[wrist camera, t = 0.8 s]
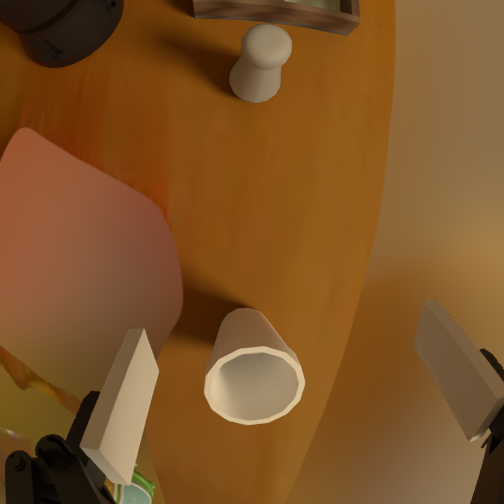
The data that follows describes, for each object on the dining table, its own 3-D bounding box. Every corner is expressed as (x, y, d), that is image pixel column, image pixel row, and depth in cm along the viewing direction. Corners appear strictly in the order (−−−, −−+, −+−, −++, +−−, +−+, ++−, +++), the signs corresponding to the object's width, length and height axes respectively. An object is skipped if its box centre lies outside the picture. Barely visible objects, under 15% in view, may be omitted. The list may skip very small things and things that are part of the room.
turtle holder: (106, 430, 42) (87, 480, 30) (168, 487, 46) (163, 534, 34) (62, 441, 42) (41, 485, 30) (122, 495, 46) (113, 537, 35)
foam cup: (212, 362, 41) (210, 427, 28) (203, 299, 39) (196, 351, 26) (282, 356, 41) (304, 417, 29) (279, 292, 39) (306, 341, 27)
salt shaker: (230, 62, 33) (235, 10, 20) (277, 66, 33) (302, 16, 21) (227, 106, 34) (230, 67, 21) (276, 109, 35) (303, 73, 22)
